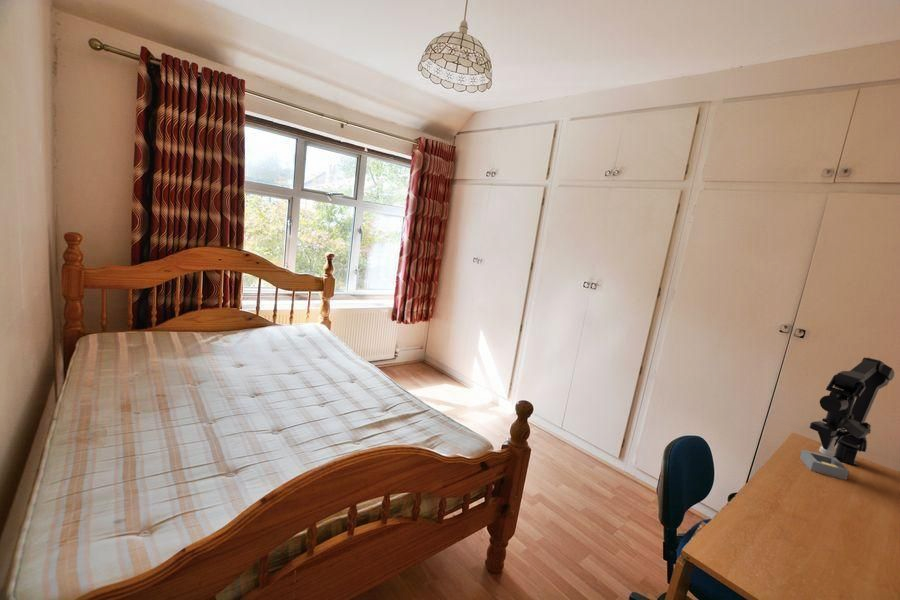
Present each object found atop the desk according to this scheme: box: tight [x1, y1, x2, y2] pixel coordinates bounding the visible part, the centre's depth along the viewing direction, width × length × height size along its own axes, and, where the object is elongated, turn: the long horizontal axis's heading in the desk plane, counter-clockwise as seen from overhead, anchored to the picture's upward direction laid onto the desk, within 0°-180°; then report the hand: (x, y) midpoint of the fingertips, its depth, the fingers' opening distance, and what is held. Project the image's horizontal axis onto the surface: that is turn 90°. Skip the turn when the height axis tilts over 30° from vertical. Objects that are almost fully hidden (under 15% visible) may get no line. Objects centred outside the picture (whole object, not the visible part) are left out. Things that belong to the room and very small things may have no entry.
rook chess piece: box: [818, 437, 838, 457], centre depth 145 cm, size 4×4×8 cm
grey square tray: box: [799, 448, 850, 481], centre depth 146 cm, size 10×10×4 cm
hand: (828, 448), depth 145 cm, fingers closed on rook chess piece, 3 cm apart
